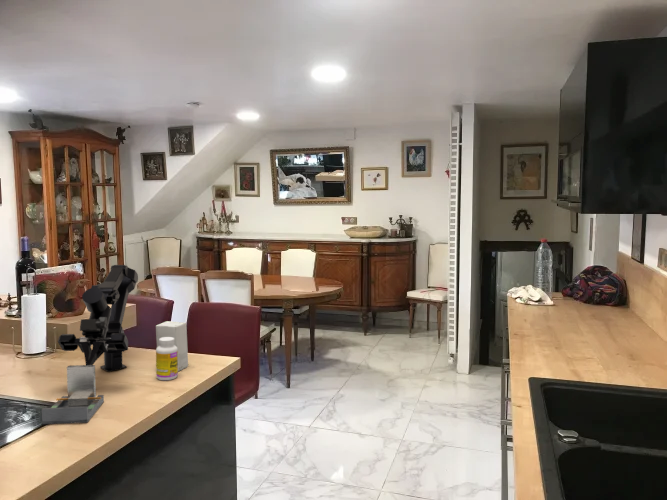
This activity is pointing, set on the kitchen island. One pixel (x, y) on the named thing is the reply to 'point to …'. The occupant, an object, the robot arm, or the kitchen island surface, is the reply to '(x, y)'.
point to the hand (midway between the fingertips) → (87, 367)
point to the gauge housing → (70, 412)
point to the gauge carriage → (80, 385)
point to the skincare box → (175, 339)
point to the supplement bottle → (166, 359)
